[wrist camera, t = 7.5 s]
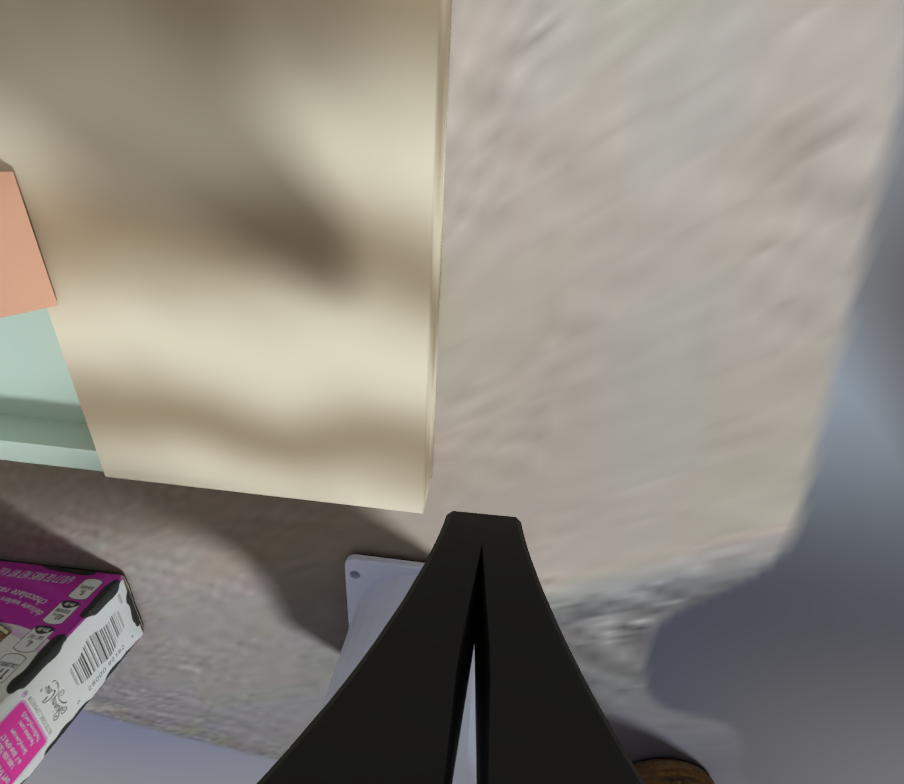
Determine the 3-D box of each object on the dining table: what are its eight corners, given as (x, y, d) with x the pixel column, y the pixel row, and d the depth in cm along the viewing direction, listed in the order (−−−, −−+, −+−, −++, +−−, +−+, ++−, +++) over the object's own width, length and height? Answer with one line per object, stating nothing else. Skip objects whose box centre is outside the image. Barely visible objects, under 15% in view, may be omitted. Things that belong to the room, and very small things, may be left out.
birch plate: (432, 474, 20) (422, 513, 18) (148, 443, 21) (105, 476, 19) (455, -93, 12) (442, -152, 10) (-7, -100, 13) (-115, -157, 11)
